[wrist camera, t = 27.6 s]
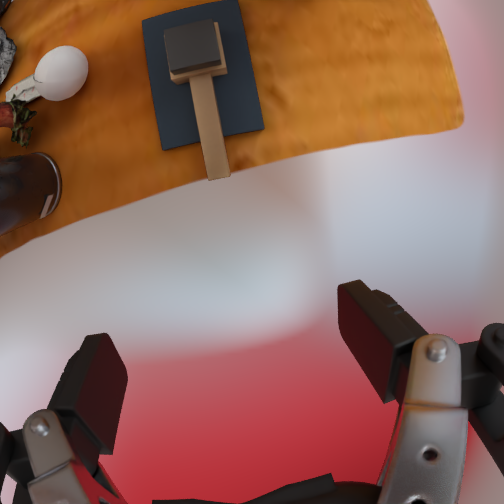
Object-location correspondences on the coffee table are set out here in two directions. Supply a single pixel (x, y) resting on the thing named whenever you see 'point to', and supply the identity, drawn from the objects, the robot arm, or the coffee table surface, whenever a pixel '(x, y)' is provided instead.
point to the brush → (201, 84)
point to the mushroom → (17, 120)
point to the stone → (5, 53)
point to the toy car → (5, 5)
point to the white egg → (61, 73)
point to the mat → (226, 86)
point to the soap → (23, 90)
